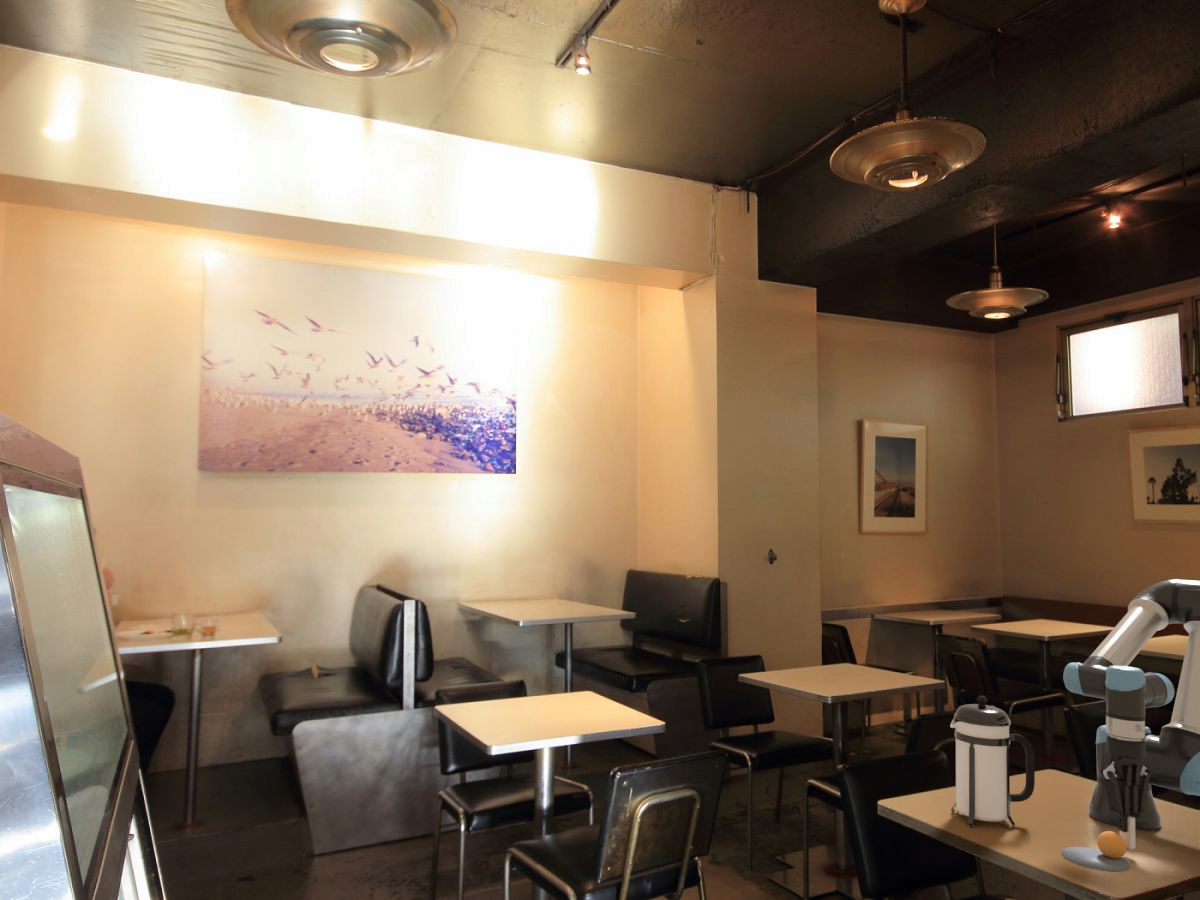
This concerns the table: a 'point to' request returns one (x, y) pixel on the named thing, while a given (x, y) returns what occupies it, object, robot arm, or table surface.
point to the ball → (1111, 844)
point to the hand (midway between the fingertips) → (1127, 846)
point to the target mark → (1095, 859)
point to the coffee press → (987, 763)
